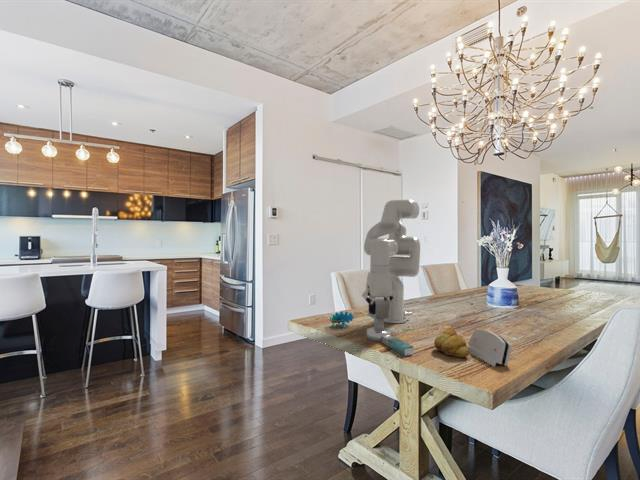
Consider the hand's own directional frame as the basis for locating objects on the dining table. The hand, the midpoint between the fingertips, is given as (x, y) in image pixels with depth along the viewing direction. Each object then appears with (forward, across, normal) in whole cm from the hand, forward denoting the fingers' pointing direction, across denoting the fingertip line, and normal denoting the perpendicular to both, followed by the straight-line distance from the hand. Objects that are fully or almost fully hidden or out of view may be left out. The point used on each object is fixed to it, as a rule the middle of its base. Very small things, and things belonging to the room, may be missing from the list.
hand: (378, 312), depth 138 cm
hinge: (+11, -25, +31) cm, 42 cm away
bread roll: (+11, -16, +24) cm, 31 cm away
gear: (+11, +7, -22) cm, 25 cm away
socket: (+2, 0, 0) cm, 2 cm away
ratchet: (+11, 0, +8) cm, 13 cm away
